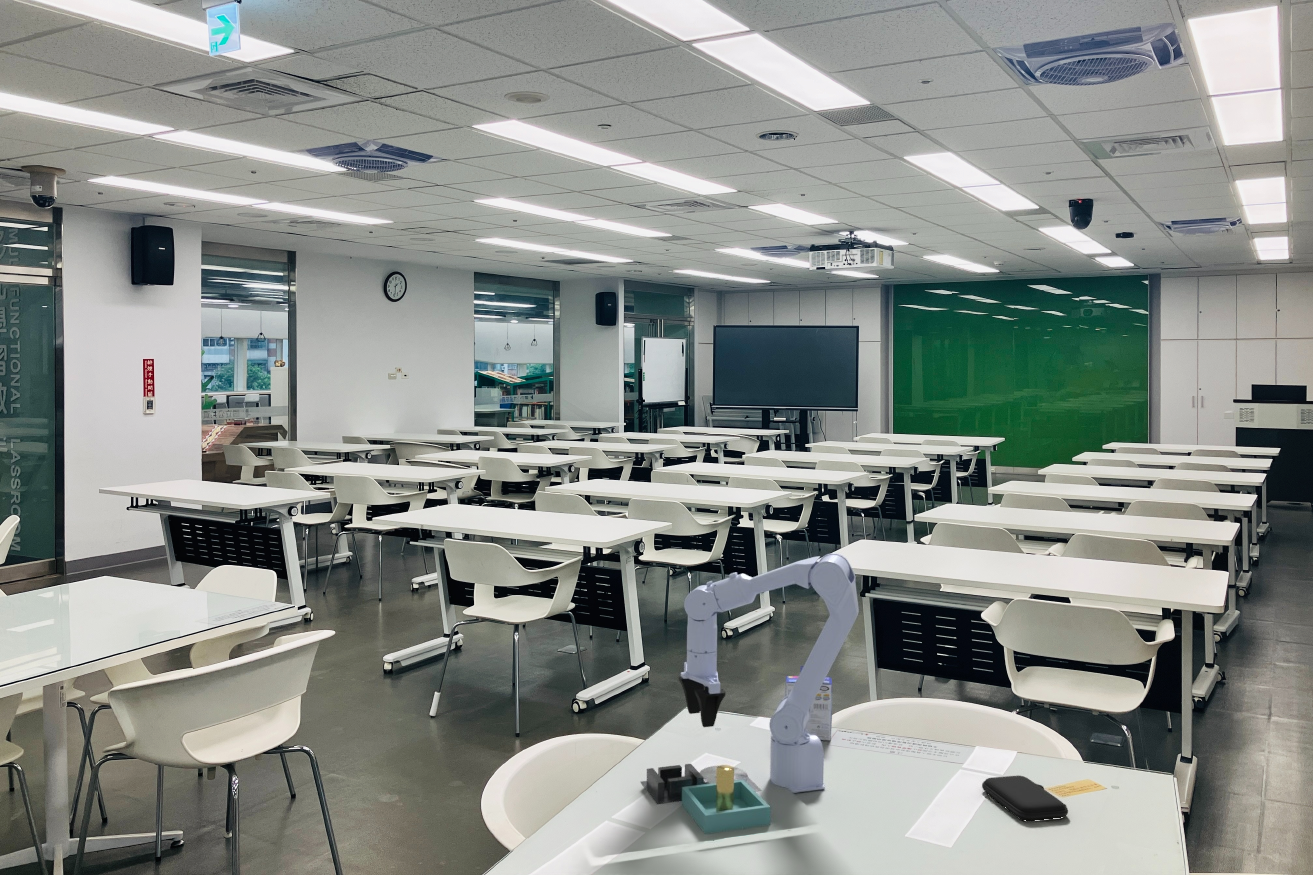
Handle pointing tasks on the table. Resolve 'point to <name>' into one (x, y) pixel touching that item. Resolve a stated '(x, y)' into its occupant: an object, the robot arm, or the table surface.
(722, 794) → the pin
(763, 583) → the robot arm
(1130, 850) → the table surface
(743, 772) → the plate
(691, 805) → the tray
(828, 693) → the ink cartridge box
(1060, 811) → the carrying case or bag
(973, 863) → the table surface
